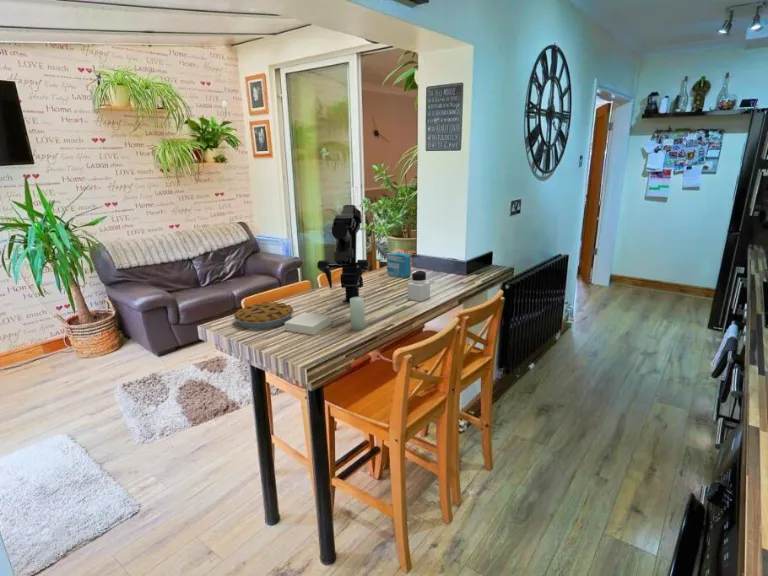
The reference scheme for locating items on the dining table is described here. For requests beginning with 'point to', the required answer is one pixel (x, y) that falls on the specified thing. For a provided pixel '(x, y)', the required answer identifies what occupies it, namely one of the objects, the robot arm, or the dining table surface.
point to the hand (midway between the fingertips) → (343, 287)
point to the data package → (398, 265)
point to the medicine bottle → (418, 287)
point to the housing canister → (357, 313)
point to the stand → (307, 323)
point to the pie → (264, 315)
